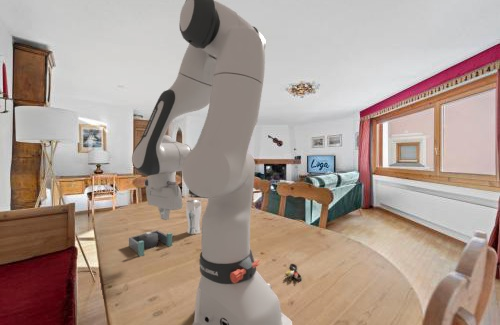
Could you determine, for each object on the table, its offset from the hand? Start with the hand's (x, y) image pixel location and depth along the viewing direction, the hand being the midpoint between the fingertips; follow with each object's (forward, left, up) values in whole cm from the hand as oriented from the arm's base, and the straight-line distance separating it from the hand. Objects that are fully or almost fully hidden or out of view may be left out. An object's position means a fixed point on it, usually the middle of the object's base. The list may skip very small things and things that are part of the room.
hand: (165, 219), depth 76 cm
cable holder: (+14, 0, -14) cm, 19 cm away
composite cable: (-41, -21, -14) cm, 48 cm away
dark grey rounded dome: (+14, 0, -14) cm, 20 cm away
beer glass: (+13, -20, -14) cm, 28 cm away
